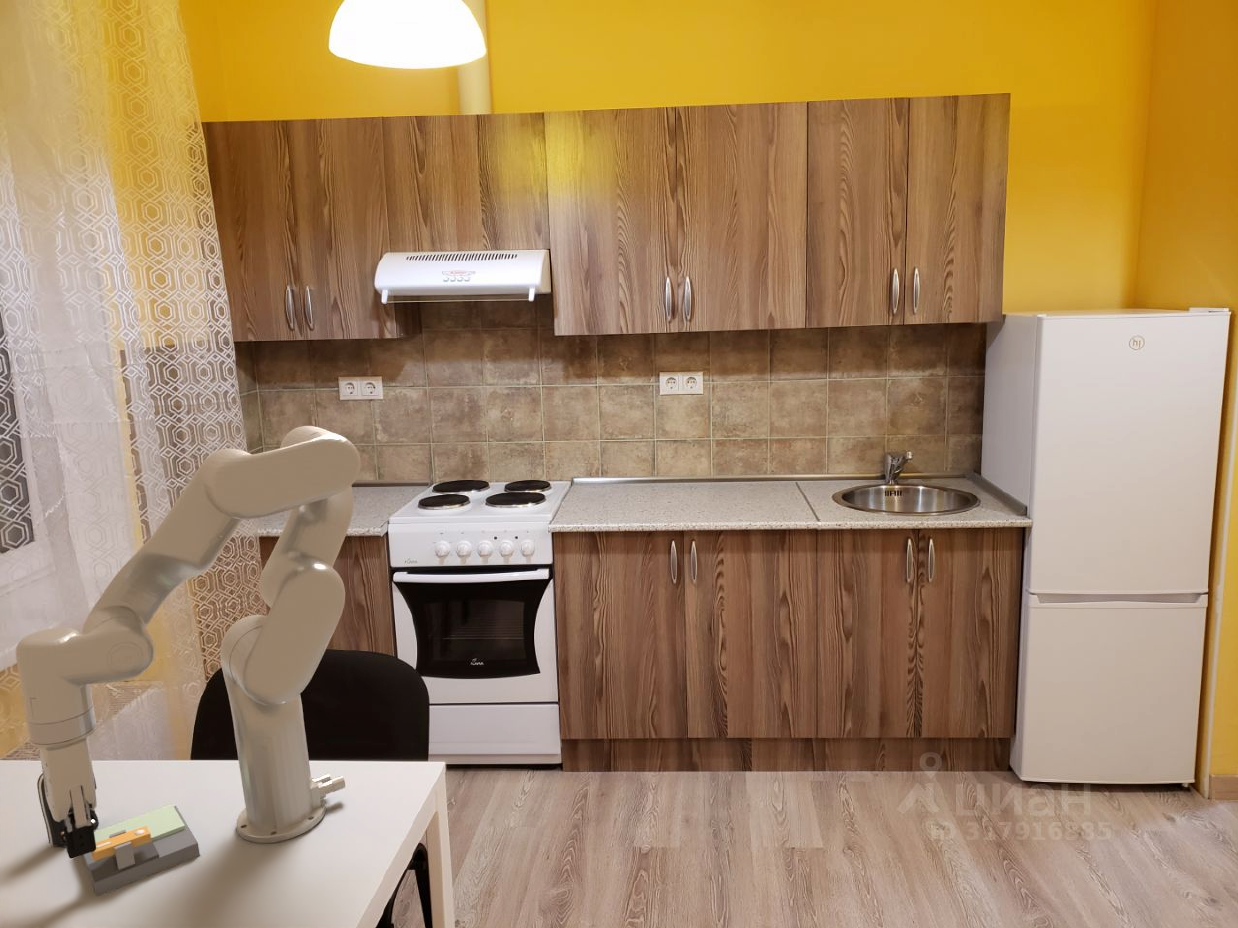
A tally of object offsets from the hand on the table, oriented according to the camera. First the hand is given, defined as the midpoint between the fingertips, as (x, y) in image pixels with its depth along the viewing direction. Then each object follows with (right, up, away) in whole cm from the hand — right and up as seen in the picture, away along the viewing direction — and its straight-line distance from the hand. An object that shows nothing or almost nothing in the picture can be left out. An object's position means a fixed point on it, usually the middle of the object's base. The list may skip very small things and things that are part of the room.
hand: (82, 851), depth 124 cm
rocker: (+4, 0, +3) cm, 5 cm away
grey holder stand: (+3, -4, +9) cm, 10 cm away
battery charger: (-9, -4, +14) cm, 17 cm away
